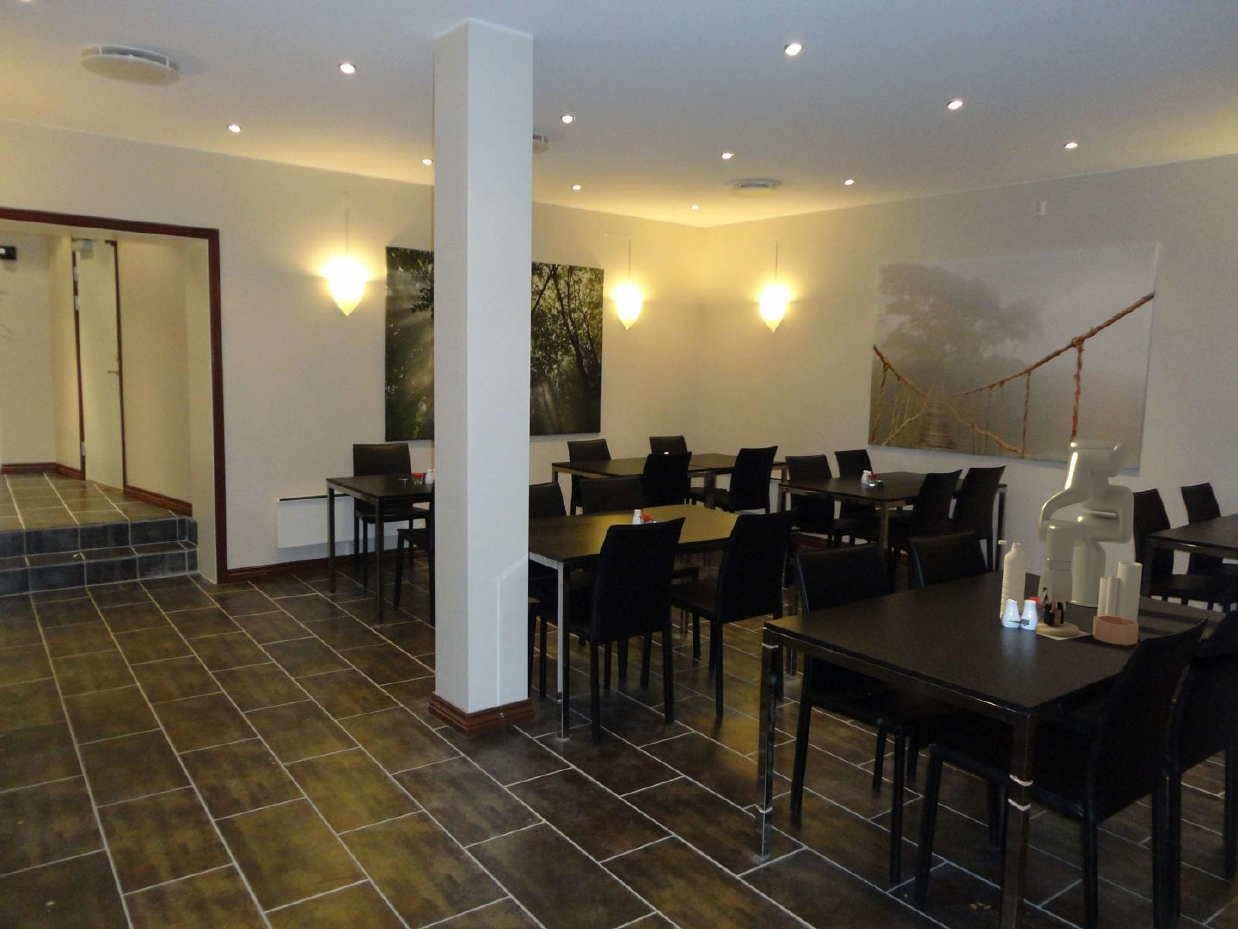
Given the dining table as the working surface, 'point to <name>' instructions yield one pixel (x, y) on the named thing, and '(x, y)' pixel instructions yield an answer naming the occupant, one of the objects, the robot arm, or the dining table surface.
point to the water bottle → (1013, 576)
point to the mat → (1067, 637)
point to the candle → (1121, 591)
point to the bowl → (1115, 629)
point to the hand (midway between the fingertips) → (1053, 623)
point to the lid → (1057, 627)
